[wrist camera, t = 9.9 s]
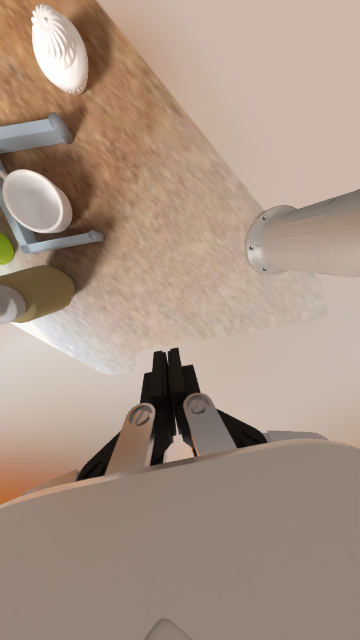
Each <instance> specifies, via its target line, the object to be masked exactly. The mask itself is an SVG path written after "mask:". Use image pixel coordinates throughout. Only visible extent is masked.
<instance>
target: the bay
mask: <svg viewBox="0 0 360 640" xmlns="http://www.w3.org/2000/svg"><path fill="white" fill-rule="evenodd" d="M73 139H74V138H73V134H72V133H71V131H70V130H69V129H68V127H67V126H66V125H65V123H64V122H63V121H62V119H61V118H60V117H59V115H58V114H56V113H51V114H50V115H49V119H43V120H38V121H32V122H26V123H20V124H14V125H8V126H3V127H0V154H4V153H9V152H15V151H21V150H26V149H32V148H38V147H43V146H49V145H55V144H60V143H69V144H70V143H72V142H73ZM0 171H3V172H5V173H6V171H5V169H4V167H3V164H2V162H1V160H0ZM3 183H4V179H3V178H1V177H0V207H1V209H2V211H3V213H4V215H5V217H6V219H7V221H8V223H9V225H10V227H11V229H12V231H13V233H14V235H15V237H16V239H17V241H18V243H19V246H20V248H21V250H22V252H23V254H36V253H41V252H46V251H51V250H57V249H62V248H67V247H72V246H77V245H82V244H88V243H93V242H103V241H104V240H105V236H104V234H102V233H100V232H97V231H94V230H91V231H89V233H85V234H80V235H74V236H69V237H64V238H59V239H54V240H48V241H43V242H37V240H36V238H35V236H34V233H33V231H32V230H30V229H28V228H26V227H24V226H23V225H22V224H20V223H19V222H18V221H17V220H16V219H15V218H14V217H13V216H12V215H11V213H10V212H9V210H8V208H7V207H6V204H5V202H4V198H3V192H2V188H3Z"/></svg>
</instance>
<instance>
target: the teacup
mask: <svg viewBox="0 0 360 640" xmlns="http://www.w3.org/2000/svg"><path fill="white" fill-rule="evenodd" d="M0 177H1V178H3V179H4V183H3V188H2V192H3V198H4V202H5V204H6V207H7V208H8V210H9V212H10V213H11V215H12V216H13V217H14V218H15V219H16V220H17V221H18V222H19V223H20V224H22V225H23V226H24V227H26V228H28V229H30V230H32V231H35V232H39V233H59V232H62V231H64V230H65V229H67V228H68V226H69V225H70V223H71V221H72V208H71V205H70V202H69V200H68V198H67V196H66V195H65V194H64V193H63V192H62V191H61V190H60V189H59V188H58V187H57V186H55V185H54V184H53V183H52V182H51V181H50V180H48V179H47V178H46V177H44V176H43V175H41V174H39V173H37V172H34V171H30V170H24V169H21V170H16V171H13V172H11V173H10V174H9V175H8V174H7V173H5V172H3V171H0Z"/></svg>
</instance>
